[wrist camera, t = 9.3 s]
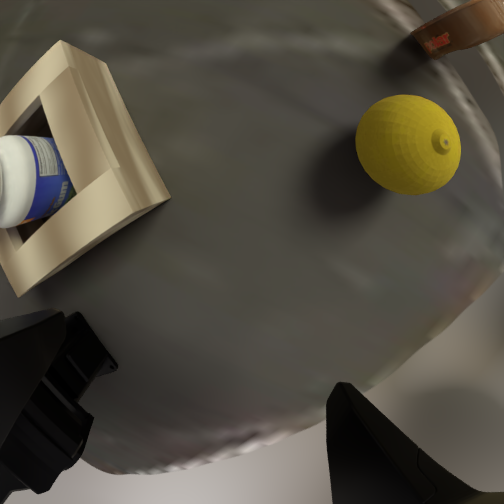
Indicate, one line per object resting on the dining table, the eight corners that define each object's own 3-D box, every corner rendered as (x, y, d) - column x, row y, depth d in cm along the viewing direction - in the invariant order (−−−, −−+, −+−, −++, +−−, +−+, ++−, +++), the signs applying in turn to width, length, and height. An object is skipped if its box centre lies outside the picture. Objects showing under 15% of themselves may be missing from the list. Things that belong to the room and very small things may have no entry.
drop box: (62, 269, 20) (18, 298, 15) (12, 153, 17) (-35, 158, 12) (171, 197, 18) (133, 212, 13) (106, 63, 15) (59, 39, 10)
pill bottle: (62, 223, 19) (-32, 260, 9) (36, 168, 17) (-57, 181, 8) (107, 182, 18) (2, 201, 8) (77, 124, 16) (-23, 112, 7)
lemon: (323, 147, 17) (366, 136, 9) (372, 92, 16) (433, 57, 8) (381, 204, 18) (447, 231, 10) (425, 149, 17) (501, 150, 9)
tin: (476, 2, 11) (523, -25, 3) (495, 27, 12) (546, 7, 4) (391, 42, 14) (451, -5, 6) (418, 76, 15) (489, 45, 7)
